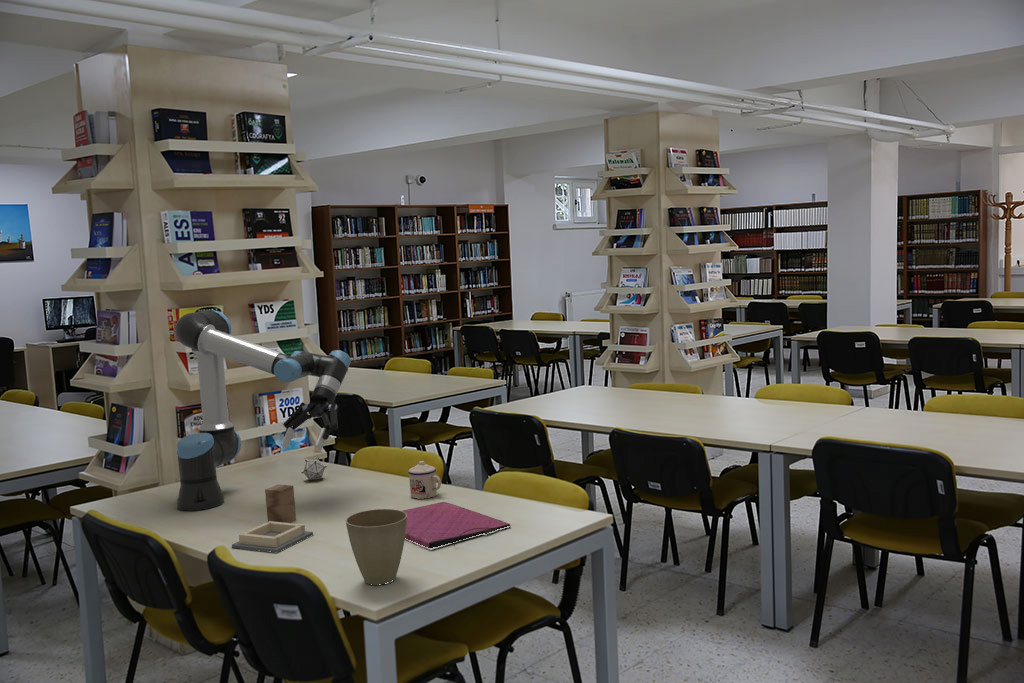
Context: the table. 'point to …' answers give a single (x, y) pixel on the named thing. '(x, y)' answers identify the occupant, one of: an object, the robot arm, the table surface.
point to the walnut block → (280, 503)
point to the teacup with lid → (423, 481)
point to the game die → (314, 469)
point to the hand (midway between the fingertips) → (300, 447)
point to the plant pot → (377, 543)
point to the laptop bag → (446, 524)
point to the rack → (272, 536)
